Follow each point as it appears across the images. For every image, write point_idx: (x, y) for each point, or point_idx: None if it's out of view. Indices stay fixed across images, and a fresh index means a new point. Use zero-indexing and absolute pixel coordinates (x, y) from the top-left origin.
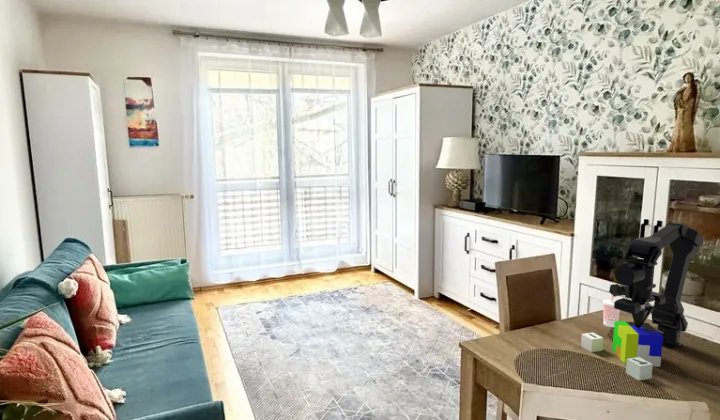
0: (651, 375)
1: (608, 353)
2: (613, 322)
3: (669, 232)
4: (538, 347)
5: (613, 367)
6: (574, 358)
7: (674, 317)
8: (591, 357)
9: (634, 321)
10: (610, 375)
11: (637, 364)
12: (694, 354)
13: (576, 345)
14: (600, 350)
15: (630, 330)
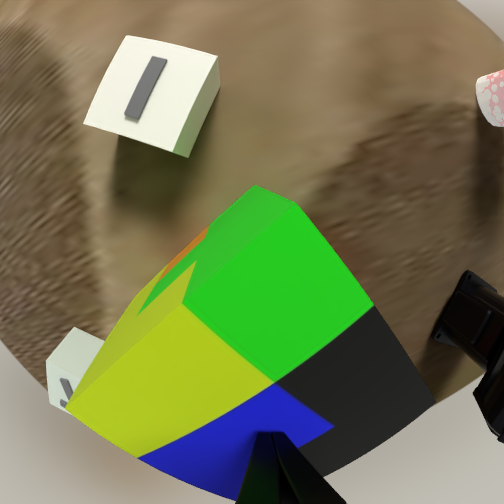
0: None
1: (178, 197)
2: (497, 112)
3: None
4: (25, 18)
5: (67, 280)
6: (18, 138)
7: (498, 434)
8: (69, 170)
9: (244, 477)
10: (19, 296)
11: (50, 395)
12: None
13: None
14: (175, 153)
15: (147, 418)
